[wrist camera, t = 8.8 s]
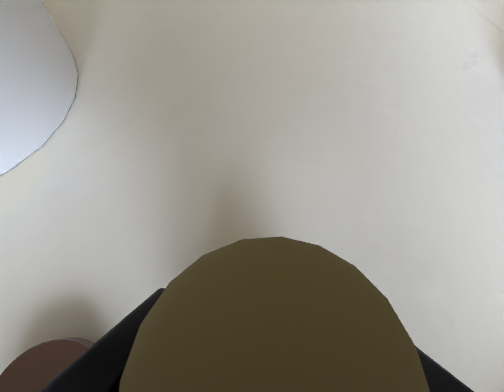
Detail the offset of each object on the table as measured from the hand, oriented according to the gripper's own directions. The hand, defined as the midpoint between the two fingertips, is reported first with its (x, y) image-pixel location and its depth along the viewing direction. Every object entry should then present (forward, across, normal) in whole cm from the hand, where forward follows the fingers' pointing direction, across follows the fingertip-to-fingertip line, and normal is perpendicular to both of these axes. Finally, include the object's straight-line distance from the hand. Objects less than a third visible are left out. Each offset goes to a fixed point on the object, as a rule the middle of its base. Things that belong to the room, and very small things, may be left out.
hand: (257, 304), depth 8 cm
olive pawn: (+4, 0, +6) cm, 7 cm away
